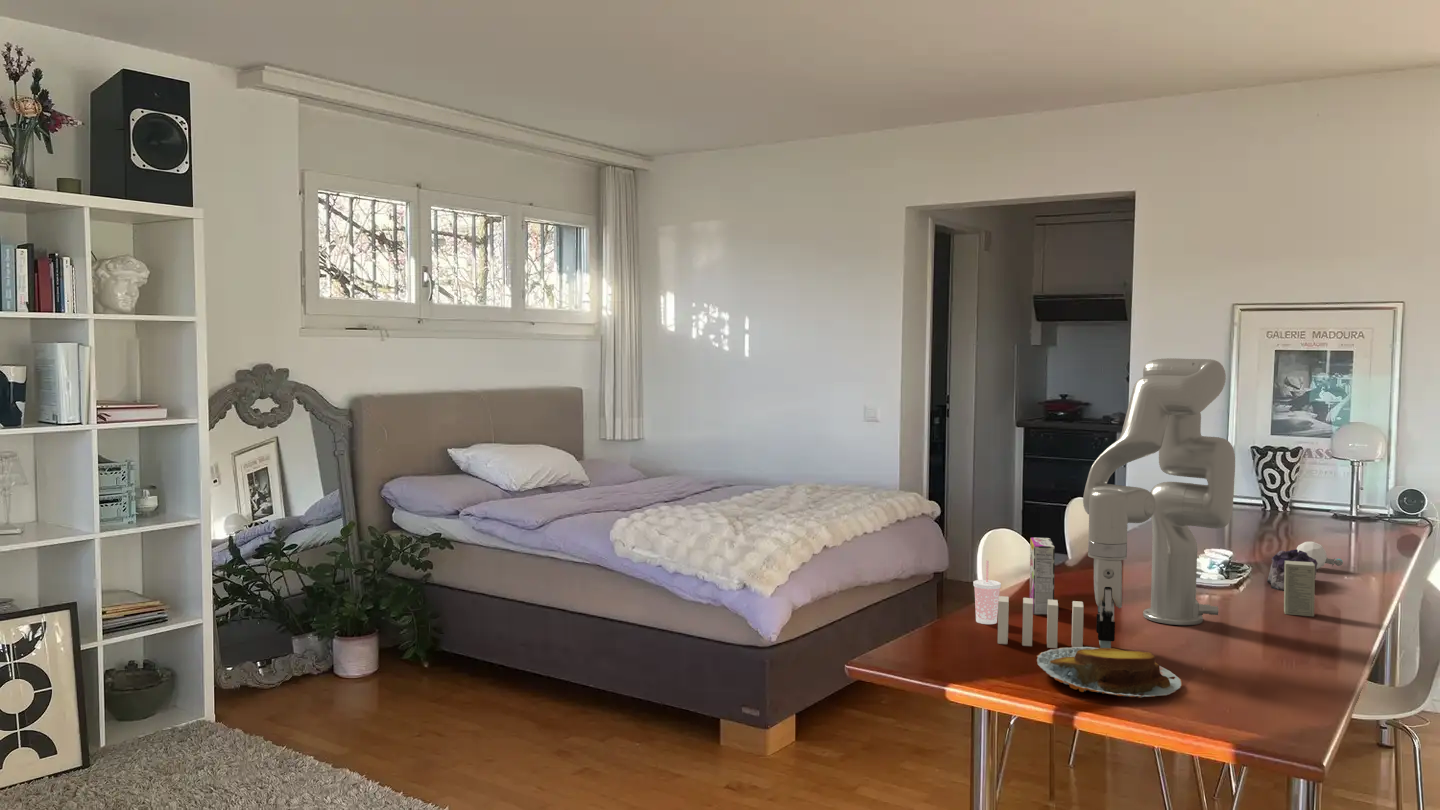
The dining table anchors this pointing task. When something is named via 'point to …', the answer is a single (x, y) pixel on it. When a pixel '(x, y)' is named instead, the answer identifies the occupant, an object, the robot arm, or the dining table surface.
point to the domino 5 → (1105, 643)
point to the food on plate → (1109, 671)
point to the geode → (1279, 566)
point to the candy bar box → (1041, 573)
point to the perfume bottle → (1317, 554)
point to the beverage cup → (986, 599)
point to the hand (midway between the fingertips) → (1105, 636)
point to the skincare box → (1299, 588)
